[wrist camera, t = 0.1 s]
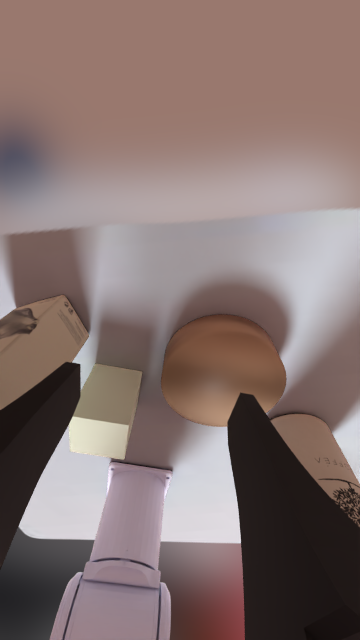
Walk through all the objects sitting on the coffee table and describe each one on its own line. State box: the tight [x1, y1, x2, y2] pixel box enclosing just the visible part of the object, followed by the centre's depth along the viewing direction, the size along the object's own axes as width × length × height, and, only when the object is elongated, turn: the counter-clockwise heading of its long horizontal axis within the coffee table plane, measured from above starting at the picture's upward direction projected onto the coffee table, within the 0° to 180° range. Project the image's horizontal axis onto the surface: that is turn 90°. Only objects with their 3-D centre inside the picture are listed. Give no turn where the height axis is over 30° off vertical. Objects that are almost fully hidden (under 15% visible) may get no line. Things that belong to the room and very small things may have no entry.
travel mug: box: [270, 414, 360, 527], centre depth 20 cm, size 8×8×18 cm
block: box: [69, 363, 142, 460], centre depth 22 cm, size 4×4×6 cm
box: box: [0, 295, 89, 410], centre depth 16 cm, size 5×4×13 cm
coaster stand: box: [161, 314, 286, 427], centre depth 22 cm, size 10×10×3 cm
